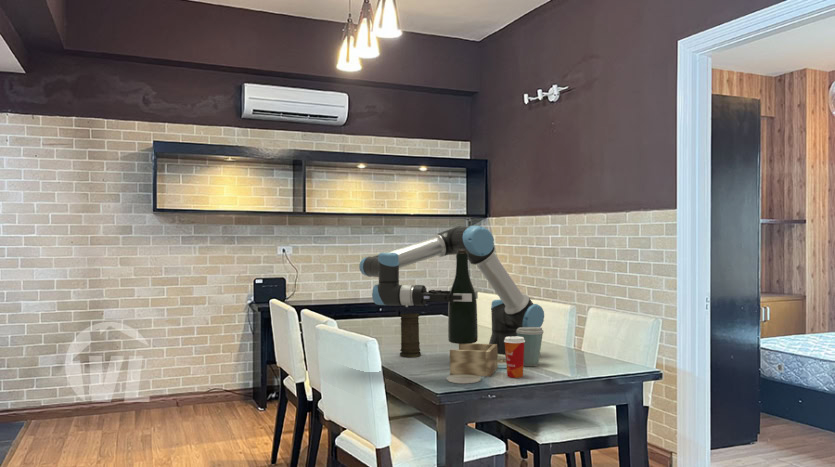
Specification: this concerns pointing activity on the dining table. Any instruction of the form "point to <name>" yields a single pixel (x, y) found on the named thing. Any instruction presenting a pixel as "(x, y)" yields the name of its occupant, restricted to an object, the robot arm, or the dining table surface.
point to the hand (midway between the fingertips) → (474, 296)
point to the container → (410, 335)
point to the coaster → (463, 378)
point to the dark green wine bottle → (462, 305)
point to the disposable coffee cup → (531, 344)
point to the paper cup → (514, 356)
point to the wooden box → (474, 359)
